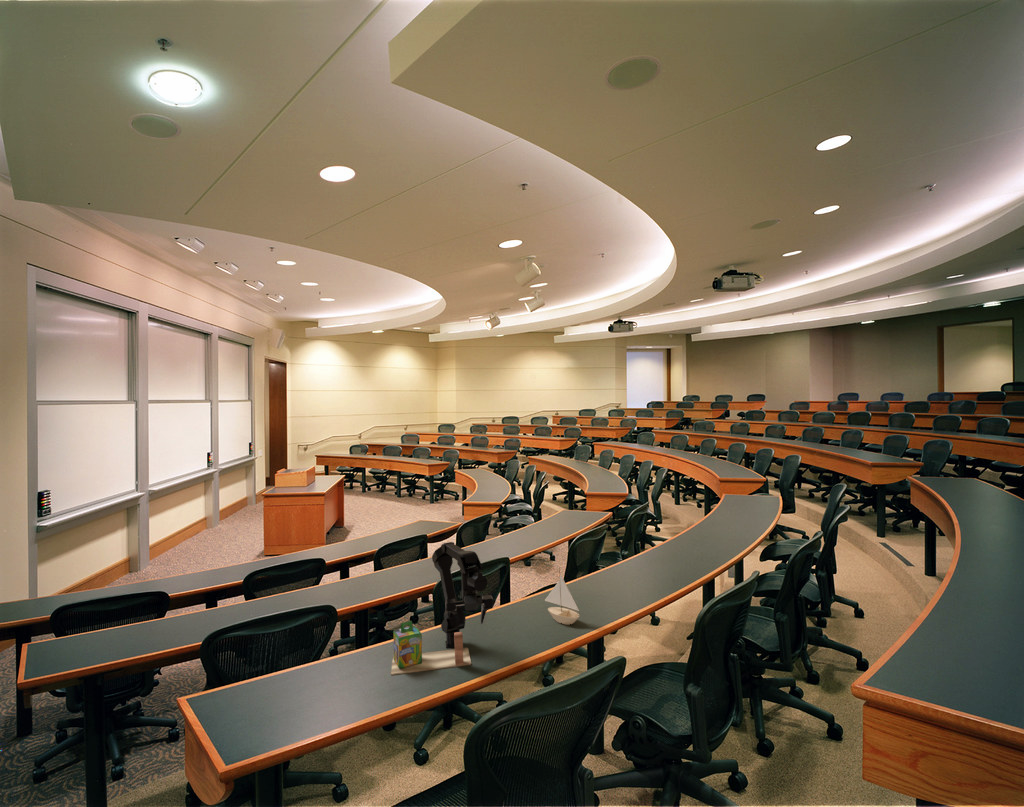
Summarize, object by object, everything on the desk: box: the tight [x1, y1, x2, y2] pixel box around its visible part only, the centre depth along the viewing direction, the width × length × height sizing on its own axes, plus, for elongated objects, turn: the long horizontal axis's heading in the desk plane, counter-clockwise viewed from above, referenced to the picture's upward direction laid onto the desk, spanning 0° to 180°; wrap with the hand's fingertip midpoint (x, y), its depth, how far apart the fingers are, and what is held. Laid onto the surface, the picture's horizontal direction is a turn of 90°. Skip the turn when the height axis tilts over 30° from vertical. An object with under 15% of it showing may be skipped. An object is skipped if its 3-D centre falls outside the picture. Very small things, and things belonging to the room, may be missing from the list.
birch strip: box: [390, 631, 472, 676], centre depth 188 cm, size 14×30×12 cm, turn 101°
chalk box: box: [392, 620, 423, 669], centre depth 188 cm, size 9×9×15 cm
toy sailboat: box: [544, 566, 580, 626], centre depth 223 cm, size 21×25×9 cm
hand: (470, 625), depth 190 cm, fingers open, 9 cm apart
